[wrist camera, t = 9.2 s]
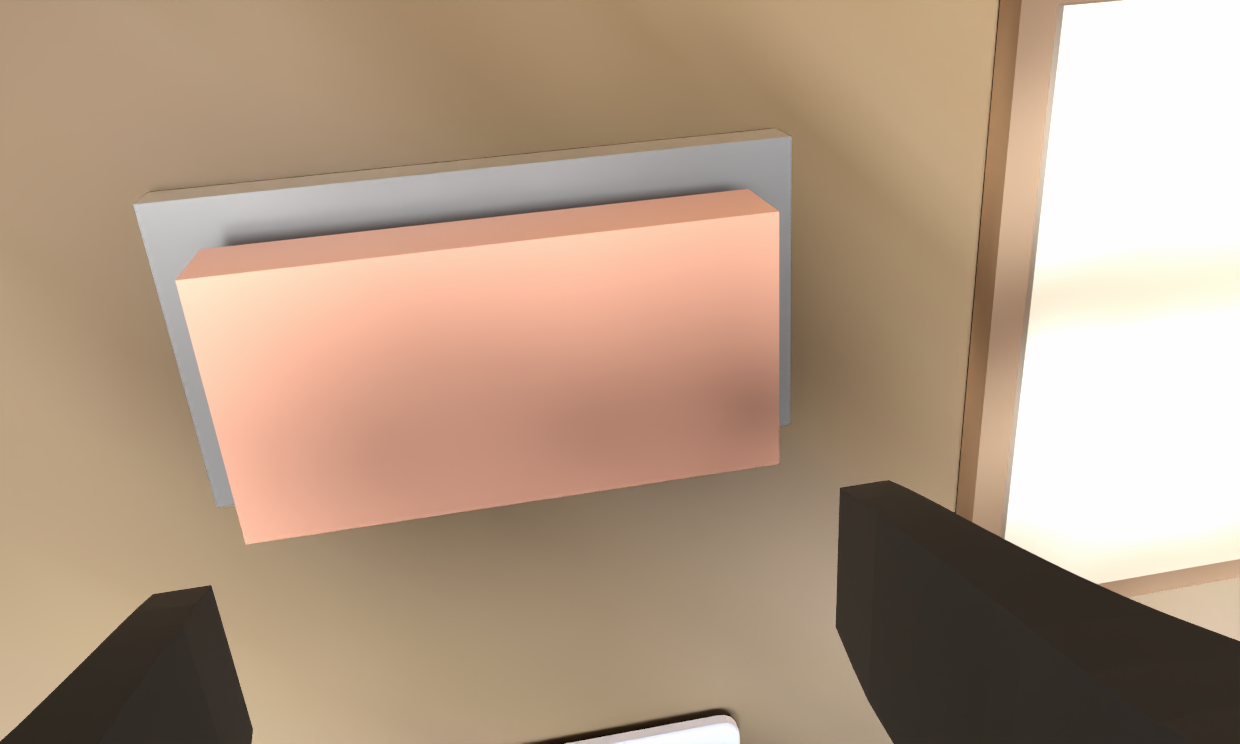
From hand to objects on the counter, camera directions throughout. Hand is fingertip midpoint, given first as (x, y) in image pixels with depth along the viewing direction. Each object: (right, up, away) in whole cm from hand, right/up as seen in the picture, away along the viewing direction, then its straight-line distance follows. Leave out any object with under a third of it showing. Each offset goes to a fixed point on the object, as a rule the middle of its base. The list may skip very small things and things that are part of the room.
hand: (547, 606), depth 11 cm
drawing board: (+16, +5, +13) cm, 21 cm away
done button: (-1, +3, +8) cm, 8 cm away
